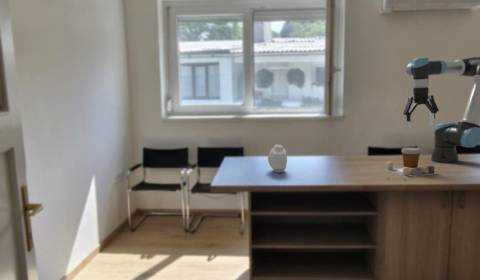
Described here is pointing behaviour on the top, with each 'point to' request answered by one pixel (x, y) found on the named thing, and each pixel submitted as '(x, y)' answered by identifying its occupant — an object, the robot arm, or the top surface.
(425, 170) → the stool leg
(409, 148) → the disposable coffee cup
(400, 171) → the board
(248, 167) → the top surface
